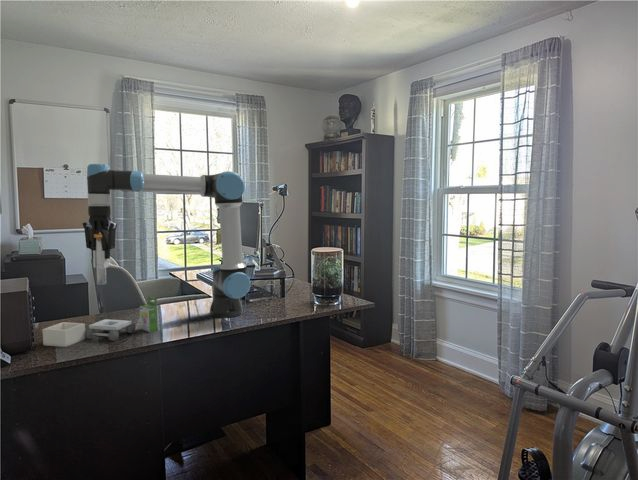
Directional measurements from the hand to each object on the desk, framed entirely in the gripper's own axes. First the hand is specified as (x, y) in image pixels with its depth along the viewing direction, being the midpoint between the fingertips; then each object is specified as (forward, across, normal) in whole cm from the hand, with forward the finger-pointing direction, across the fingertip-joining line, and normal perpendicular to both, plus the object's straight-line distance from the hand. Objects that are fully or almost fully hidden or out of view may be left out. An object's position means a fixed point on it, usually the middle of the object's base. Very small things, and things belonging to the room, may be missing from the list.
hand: (101, 267), depth 167 cm
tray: (+27, +10, +9) cm, 30 cm away
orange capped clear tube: (+7, 0, 0) cm, 7 cm away
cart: (+27, -2, -2) cm, 27 cm away
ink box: (+27, -12, -12) cm, 32 cm away
